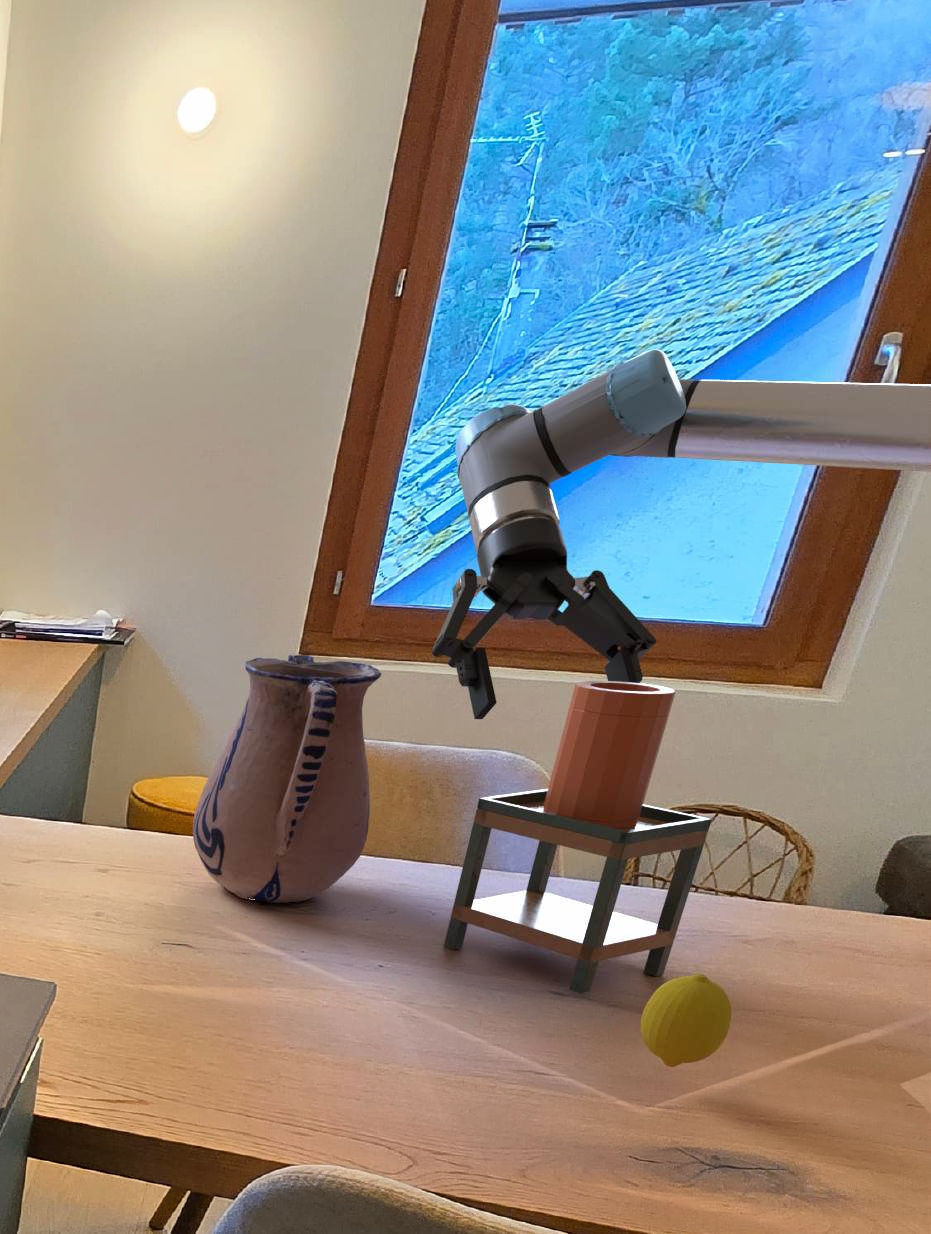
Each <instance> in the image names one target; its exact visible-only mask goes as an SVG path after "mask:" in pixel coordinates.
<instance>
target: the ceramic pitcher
mask: <svg viewBox="0 0 931 1234" xmlns="http://www.w3.org/2000/svg"><path fill="white" fill-rule="evenodd" d="M287 658H288V659H287V660H285V659H278V658H264V657H263V658H262V657H256V658H253V659H250V660H247V661H245V671H246V672H247V674H248V676H249V694H248V698H247V699H246V702H245V705H244V707H243V710H242V712H241V715H240V716H239V719H238V720H237V722H236V724H235V726H234V728H233V729H232V731H231V734H230V736H229V737H228V739H227V742H226V744H225V746H224V747H223V749H222V751H221V753H220V755H219V756H218V758H217V760H216V762H215V765H214V766H213V768H212V770H211V772H210V774H209V776H208V778H207V780H206V782H205V784H204V786H203V789H202V791H201V793H200V796H199V799H198V801H197V803H196V807H195V810H194V811H195V812H194V816H193V822H192V839H193V843H194V847H195V850H196V852H197V855H198V856H199V859H200V861H201V863H202V865H203V867H204V868H205V870H206V871H207V874H208V875H209V876H210V877H211V879H212V880H214V881H215V882H216V883H218V884H219V885H220V886H222V888H224V887H225V888H226V890H228V892H231V893H233V894H234V895H236V896H237V897H239V898H241V899H244V898H247V899H249V898H250V899H255V900H260V901H259V902H264V901H266V903H272V902H273V903H272V904H290V903H289V902H296V903H301V902H303V900H304V901H307V900H309V899H312V898H314V897H316V896H318V895H320V894H321V893H323V892H325V891H326V890H328V889H330V887H331V886H333V885H334V884H336V883H337V882H338V881H339V879H341V878H342V877H344V876H345V874H346V873H348V872H349V870H351V868H352V867H353V866H354V865H355V864H356V862H357V861H358V860H359V859H360V858H361V856H362V854H363V851H364V849H365V845H366V842H367V838H368V834H369V826H370V816H371V815H370V814H371V813H370V812H371V794H370V774H369V765H368V759H367V752H366V742H365V737H364V727H363V726H364V724H363V723H364V722H363V705H364V700H365V696H366V693H367V691H368V689H369V688H370V687H371V686H372V685H373V684H374V683H375V682H376V681H377V680H378V679H381V677H382V672H381V671H380V670H379V669H378V668H377V667H373V666H372V665H371V664H366V663H361V662H352V661H345V660H336V661H326V662H324V661H314V660H315V658H314V656H312V655H309V654H295V655H291V654H289V655H288V657H287ZM225 888H224V889H225ZM300 901H301V902H300Z"/></svg>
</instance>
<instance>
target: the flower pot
mask: <svg viewBox="0 0 931 1234" xmlns="http://www.w3.org/2000/svg"><path fill="white" fill-rule="evenodd" d="M676 693H677V692H676V690H675V689H674V688H670V687H666V686H661V685H657V684H649V683H641V682H640V683H630V682H617V681H608V680H585V681H578V682H576V683H575V684H574V687H573V692H572V695H571V699H570V703H569V707H568V711H567V714H566V718H565V722H564V726H563V729H562V734H561V738H560V741H559V745H558V749H557V753H556V757H555V761H554V764H553V767H552V771H551V775H550V776H551V777H550V779H549V783H548V787H547V789H548V791H547V795H546V798H545V802H544V806H543V807H544V809H543V812H547V813H552V814H556V815H560V816H565V817H569V818H573V819H578V820H582V821H586V822H591V823H595V824H599V825H604V826H608V827H612V828H617V829H620V828H630V827H634V826H635V825H636V824H637V821H638V818H639V816H640V813H641V810H642V806H643V805H644V803H645V798H646V795H647V791H648V788H649V786H650V783H651V779H652V774H653V772H654V768H655V764H656V762H657V757H658V754H659V752H660V751H659V750H660V749H661V748H660V747H661V744H662V741H663V737H664V734H665V730H666V728H667V724H668V720H669V716H670V713H671V710H672V706H673V703H674V700H675V696H676Z"/></svg>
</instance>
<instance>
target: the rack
mask: <svg viewBox="0 0 931 1234" xmlns="http://www.w3.org/2000/svg"><path fill="white" fill-rule="evenodd" d="M547 791H548V788H545V789H537V790H530V791H522V792H516V793H515V792H514V793H508V794H500V795H492V796H486V797H479V798H478V802H477V805H476V811H475V815H474V818H473V823H472V827H471V832H470V836H469V840H468V844H467V848H466V853H465V856H464V859H463V865H462V869H461V873H460V877H459V880H458V886H457V889H456V893H455V897H454V902H453V906H452V910H451V913H450V918H449V922H448V927H447V931H446V935H445V940H444V943H443V947H444V948H448V949H450V950H453V951H455V950H459V949H460V950H461V949H462V948H463V946H464V942H465V938H466V933H467V930H468V925H472V926H475V927H478V928H482V929H485V930H487V931H491V932H494V933H497V934H500V935H503V936H507V937H509V938H513V939H515V940H519V941H520V942H521V941H522V942H525V943H528V944H530V945H533V946H537V947H539V948H543V949H546V950H549V951H553V952H555V953H559V954H562V955H566V956H568V957H571V958H574V959H577V960H576V965H575V967H574V971H573V975H572V979H571V981H570V985H569V989H568V990H570V991H572V992H575V993H578V994H581V995H582V994H586V993H590V992H591V989H592V985H593V982H594V978H595V975H596V971H597V968H598V965H599V962H600V961H606V960H609V959H614V958H620V957H622V956H623V957H624V956H627V955H633V954H636V953H641V952H642V953H643V952H646V951H649V952H648V955H647V959H646V961H645V965H644V969H643V974H646V975H650V976H652V977H659V976H663V975H664V974H665V970H666V967H667V964H668V961H669V958H670V954H671V951H672V948H673V946H674V942H675V938H676V935H677V932H678V929H679V927H680V922H681V920H682V916H683V913H684V910H685V907H686V903H687V900H688V897H689V894H690V891H691V887H692V885H693V881H694V878H695V875H696V871H697V868H698V865H699V861H700V859H701V856H702V852H703V849H704V845H705V843H706V839H707V837H708V833H709V830H710V827H711V824H712V822H713V819H712V818H709V817H704V816H700V815H694V814H690V813H685V812H680V811H675V810H671V809H666V808H662V807H657V806H651V805H648V804H643V806H642V810H641V813H640V816H639V818H638V821H637V824H636V825H635V826H634V827H630V828H620V829H617V828H612V827H608V826H604V825H599V824H595V823H591V822H586V821H582V820H578V819H573V818H569V817H565V816H560V815H556V814H552V813H547V812H543V809H544V807H543V806H544V802H545V798H546V795H547ZM492 830H498V831H501V832H505V833H509V834H513V835H517V836H521V837H525V838H528V839H533V840H536V841H538V845H537V848H536V852H535V856H534V859H533V863H532V868H531V871H530V874H529V875H530V876H529V879H528V882H527V887H526V890H521V891H515V892H510V893H504V894H500V895H494V896H487V897H483V898H476V893H477V889H478V884H479V881H480V877H481V873H482V868H483V865H484V861H485V856H486V853H487V849H488V844H489V840H490V836H491V833H492ZM558 846H561V847H565V848H568V849H571V850H572V849H573V850H577V851H581V852H585V853H589V854H593V855H597V856H601V857H604V858H606V859H605V862H604V866H603V869H602V873H601V876H600V880H599V882H598V883H599V884H598V887H597V889H596V894H595V898H594V901H593V905H591V904H587V903H585V902H581V901H577V900H574V899H571V898H567V897H563V896H561V895H556V894H554V893H549V892H546V890H547V886H548V882H549V879H550V875H551V871H552V867H553V864H554V860H555V856H556V853H557V848H558ZM675 851H679V854H678V856H677V861H676V864H675V867H674V870H673V874H672V877H671V880H670V883H669V887H668V889H667V893H666V895H665V900H664V902H663V906H662V909H661V913H660V916H659V918H658V923H655V922H651V921H649V920H648V921H647V920H644V919H641V918H638V917H634V916H631V915H627V914H623V913H620V912H616V911H614V910H615V906H616V903H617V900H618V896H619V893H620V889H621V887H622V882H623V879H624V875H625V873H626V870H627V866H628V862H629V859H636V858H640V857H641V858H642V857H646V856H647V857H648V856H654V855H657V854H659V855H660V854H665V853H670V852H675ZM475 898H476V899H475Z"/></svg>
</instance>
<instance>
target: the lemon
mask: <svg viewBox="0 0 931 1234" xmlns="http://www.w3.org/2000/svg"><path fill="white" fill-rule="evenodd" d="M731 1020H732V1004H731V1000H730V998H729V995H728V994H727V992H726V991H725V990H724V988H722V987H721V986H720V985H719V984H717V982H715V981H713V980H712V979H709V978H708V977H707V975H706V974H704V973H700V972H699V973H695V974H693V975H684V976H679V977H675V978H673V979H670V980H668V981H666V982H664V983H663V984H661V985H659V987H657V988H656V990H655V991H654V992H653V994H652V995H651V996H650V998H649V999H648V1001H647V1003H646V1004H645V1006H644V1008H643V1010H642V1014H641V1019H640V1036H641V1039H642V1042H643V1043H644V1045H645V1046H646V1048H647V1049H648V1050H649V1051H650V1052H651V1053H652V1054H653V1055H655V1056H656V1057H658V1058H659V1059H660V1060H661V1061H662V1062H663V1064H664V1065H665V1066H667V1067H670V1068H675V1067H678V1066H679V1065H682V1064H691V1063H692V1064H693V1063H696V1062H700V1061H702V1060H704V1059H707V1058H708V1057H710V1056H711V1055H713V1054H714V1053H715V1052H716V1051H717V1050H719V1049H720V1047H721V1046H722V1045H723V1043H724V1041H725V1040H726V1037H727V1035H728V1033H729V1031H730V1026H731Z"/></svg>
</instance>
